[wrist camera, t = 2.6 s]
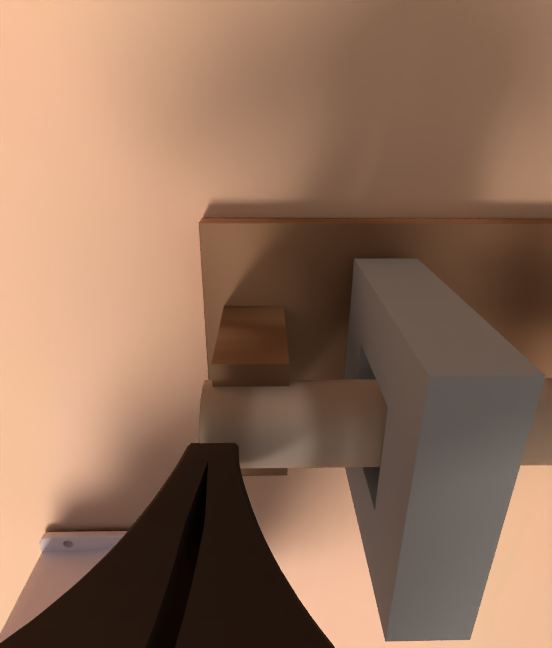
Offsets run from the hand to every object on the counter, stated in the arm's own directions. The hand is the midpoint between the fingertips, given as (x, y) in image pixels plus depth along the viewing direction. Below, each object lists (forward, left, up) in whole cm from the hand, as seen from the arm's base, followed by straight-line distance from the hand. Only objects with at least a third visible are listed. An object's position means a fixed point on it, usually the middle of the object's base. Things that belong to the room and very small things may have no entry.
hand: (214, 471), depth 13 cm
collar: (+6, 0, -7) cm, 9 cm away
